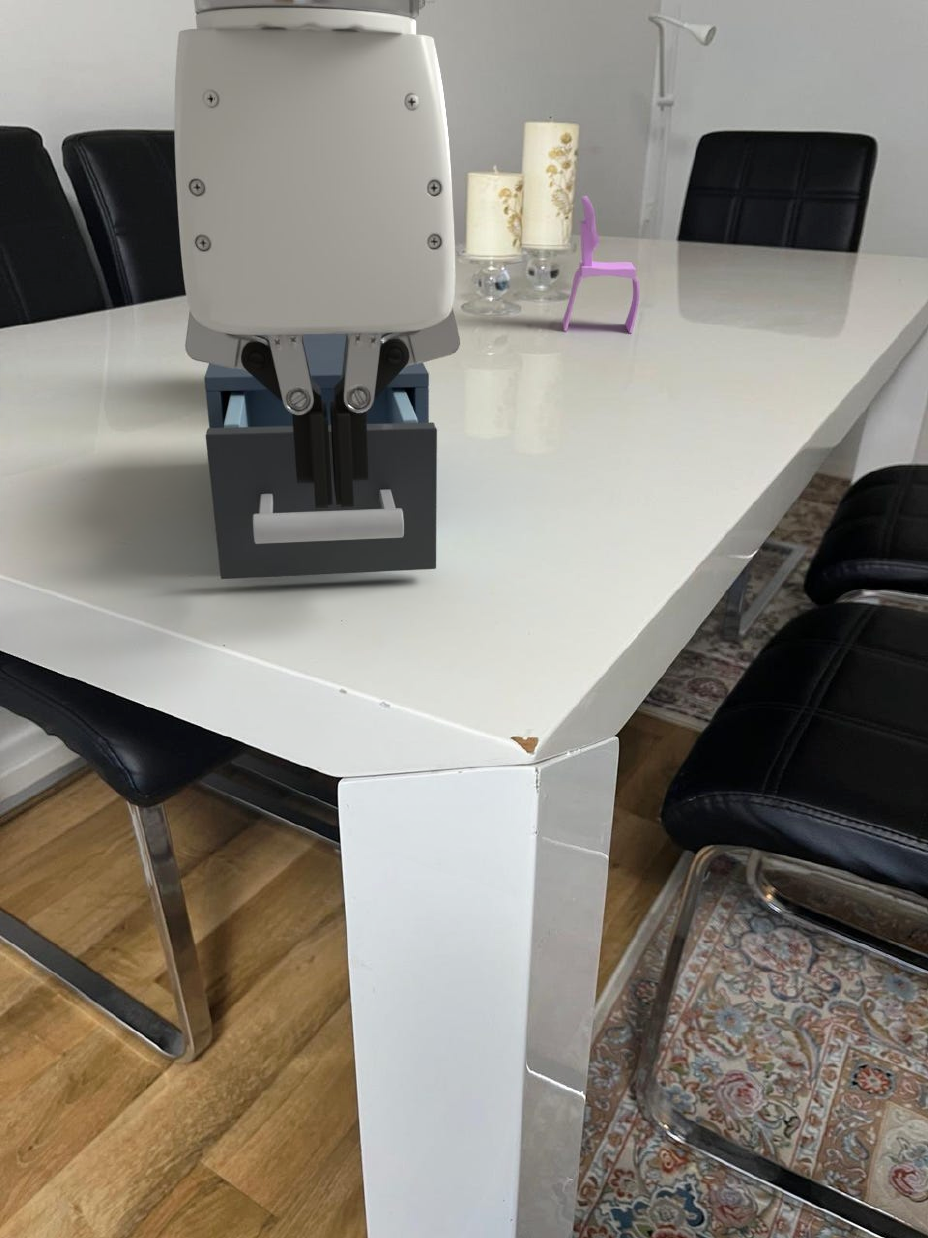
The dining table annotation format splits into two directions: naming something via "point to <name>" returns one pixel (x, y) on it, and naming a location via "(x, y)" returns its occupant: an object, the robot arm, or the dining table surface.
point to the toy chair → (599, 266)
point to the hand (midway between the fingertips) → (333, 496)
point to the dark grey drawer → (286, 512)
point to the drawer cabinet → (324, 372)
